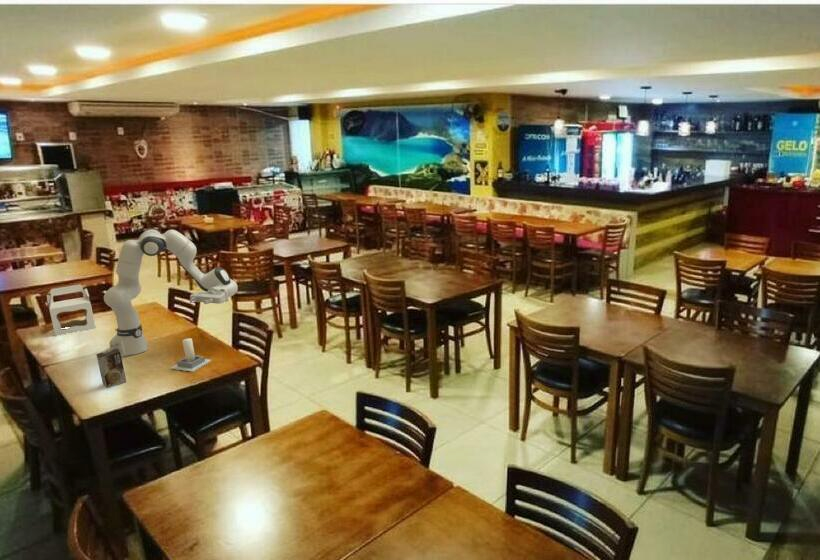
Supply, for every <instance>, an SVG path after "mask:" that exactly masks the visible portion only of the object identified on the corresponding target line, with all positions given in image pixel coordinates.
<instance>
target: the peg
mask: <svg viewBox="0 0 820 560" xmlns="http://www.w3.org/2000/svg"><path fill="white" fill-rule="evenodd" d="M182 347H183V352H184V358H186V362H191V363H192V362H193V361H195V360H196V359H195V355H196V354H195V350H194V349H195V348H194V343H193V338H190V337H189V338H184V339H183V340H182Z"/></svg>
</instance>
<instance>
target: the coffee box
mask: <svg viewBox="0 0 820 560" xmlns="http://www.w3.org/2000/svg"><path fill="white" fill-rule="evenodd" d="M96 359H97V364H98V367H99V369H98V370H99V372H100V373H99V374H100V377H101V382H102V385H103V386H104V387H105V388H106V389H109V388H112V387H115V386H119V385H122V384H124V383H127V378H126V373H125V372H126V371H125V368H124V364H123V358H122V357H121V353H120V351H119V350H117V349H112V350H109V351H106V350H105V351H102V352H99V353H96Z"/></svg>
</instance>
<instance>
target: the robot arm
mask: <svg viewBox="0 0 820 560" xmlns="http://www.w3.org/2000/svg"><path fill="white" fill-rule="evenodd" d="M166 250H168V251H170V252H171V253H172V254H174V256H176V257H177V259H178V261H179V265H180V266H181V267H182V269H183V270H184V271H185V272H186V273H187V274H188V275H189V277H191V278H192V279H193V281H195V282H196V284H197V286H198V287H199V288H200V290H202V291H197V292H195V293H191V294H190V295H189V302H190V303H191V304H193V303H195V302H197V303H203V304H204V305H208V304H209V305H210V304H215V305H216V304H217V305H218V304H223V303H227V302H229V298H231V297H232V296H234V295H235V294H236V293H237V292H238V289H239V288H238V287H239V286H238V284H237V282H236V281H235V280H233V279H232V278H230V275H229V272H228V271H226V269H225V268H222V267H220V266H218V267H215V268H213V269H211V270H210V271H208V272H207V273H204V272H202V271H201V270H200V269H199V268H198V267H197V265H196V264H194V260H195V258H196V255H197V250H198V249H197V247H196V244H195V243H193V242H192V241H191V240H190V239H189V238H188V237H186V235H183V234H182V233H181V232H179V231H177V230H176V229H168V230H167V231H164V233H162V232H161V231H160V230H159V229H157V228H153V227H151V228H146V229H145V230H144V231H142V233H140V234H139V235H138V236H137V239H128V240H125V241H124V242H123V244H122V246H121V249H120V250H119V251H120V252H119V255H118V260H117V264H116V269H115V273H116V274H117V275H118V277H117V278H118V282H117V283H116V284H115V285H113V286H111V287H110V288H108V289H107V290H106V292H105V293H104V295H103V301H104V303H105V304H106V305H107V306H108V307H110V308H111V310H112V311H113V314H114V316H115V320H116V323H117V325H116V326H117V328H115V329H114V331H115V332H116V334H115V336H114V337H112V339H111V340H110V341H109V348H107V349H106V350H105V351H109V350H112V349H117V350H119V351H120V353H121V358H122V357H126V356H135V355H138V354H141V353H143V352H145V351H147V350H148V349H149V346H148V345H149V344H148V342H147V341H146V338H145V337H146V336H145V334H144V331H143V325H142V324H141V321H140V316H139V315H140V314H139V311H138V310H137V309H135V308H134V306H133V303H132V301H133V300H134V299H135V298H137V297H138V296H139V295H140V294H141V291H142V285H141V283H140V270H141V267H142V266H141V265H142V261H143V256H144V255H146V256H148V257H155V256H158V255H159V254H161V253H163V252H165V251H166Z"/></svg>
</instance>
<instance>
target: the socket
mask: <svg viewBox="0 0 820 560" xmlns="http://www.w3.org/2000/svg"><path fill="white" fill-rule="evenodd" d="M195 359H196V360H195V361H193V362H192V363H191V362H186V358H185V357H183V358H181V359H179V360H178V361H176V364H174V365H173V366H171V367H170V370H172V369H175V370H174V371H179V370H183V371H182V372H185V371H190V372H189V373H192V372H193V373H195V372H196V371H195V370H197V369H198V370H200V369H202V368H203V367H202V366H204V365H205V366H207V365H209V364H210V363H212V362H213V360H212V359H206V358H205V356H202V355H197V354H195ZM211 361H212V362H211ZM209 362H210V363H209ZM208 363H209V364H208ZM206 364H207V365H206ZM205 366H204V367H205ZM201 367H202V368H201ZM199 368H200V369H199ZM198 370H197V371H198ZM194 371H195V372H194Z"/></svg>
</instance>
